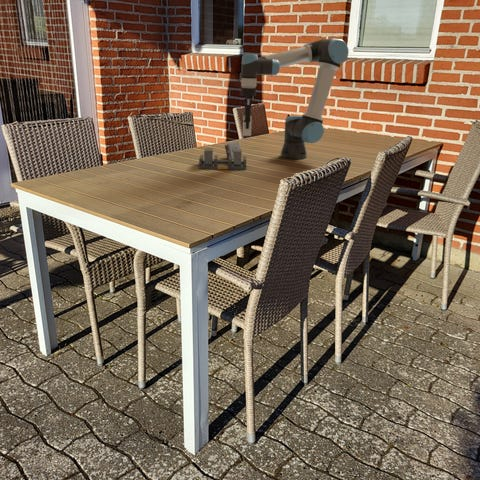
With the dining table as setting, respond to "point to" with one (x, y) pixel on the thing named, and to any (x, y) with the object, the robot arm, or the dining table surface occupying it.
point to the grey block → (244, 125)
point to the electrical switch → (231, 149)
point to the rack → (208, 162)
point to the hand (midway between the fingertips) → (246, 133)
